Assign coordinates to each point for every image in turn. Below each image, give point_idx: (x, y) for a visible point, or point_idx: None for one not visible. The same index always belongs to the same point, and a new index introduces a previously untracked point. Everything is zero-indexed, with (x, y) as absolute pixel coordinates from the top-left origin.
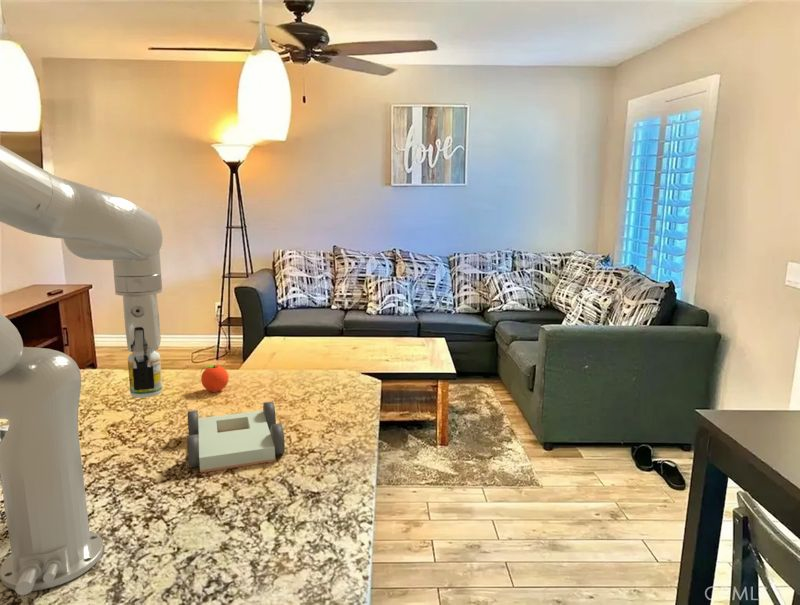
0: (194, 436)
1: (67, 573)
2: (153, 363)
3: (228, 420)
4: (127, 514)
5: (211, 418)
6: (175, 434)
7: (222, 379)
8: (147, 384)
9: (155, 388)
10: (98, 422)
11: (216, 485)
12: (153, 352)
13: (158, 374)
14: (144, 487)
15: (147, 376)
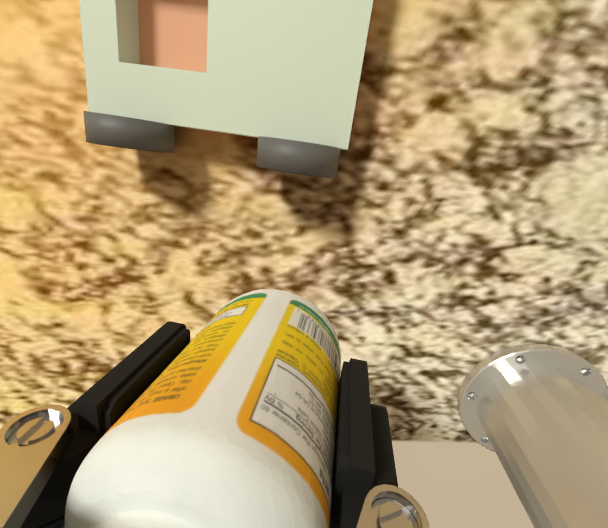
0: (294, 151)
1: (605, 396)
2: (315, 466)
3: (119, 21)
4: (444, 301)
5: (98, 74)
6: (121, 176)
7: None
8: (385, 409)
9: (331, 340)
10: (25, 313)
11: (430, 124)
12: None
13: (301, 362)
14: (355, 265)
15: (391, 448)
